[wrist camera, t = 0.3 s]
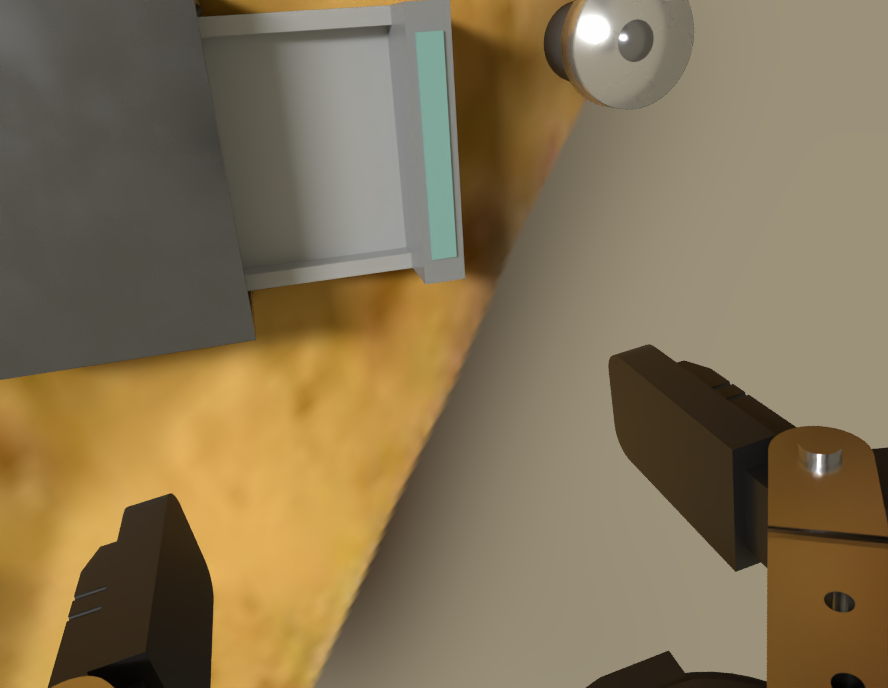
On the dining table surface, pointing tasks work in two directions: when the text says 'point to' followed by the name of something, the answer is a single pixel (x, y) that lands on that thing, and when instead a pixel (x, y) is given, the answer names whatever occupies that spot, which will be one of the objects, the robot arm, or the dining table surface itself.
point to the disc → (626, 49)
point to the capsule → (556, 41)
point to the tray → (339, 141)
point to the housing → (111, 188)
